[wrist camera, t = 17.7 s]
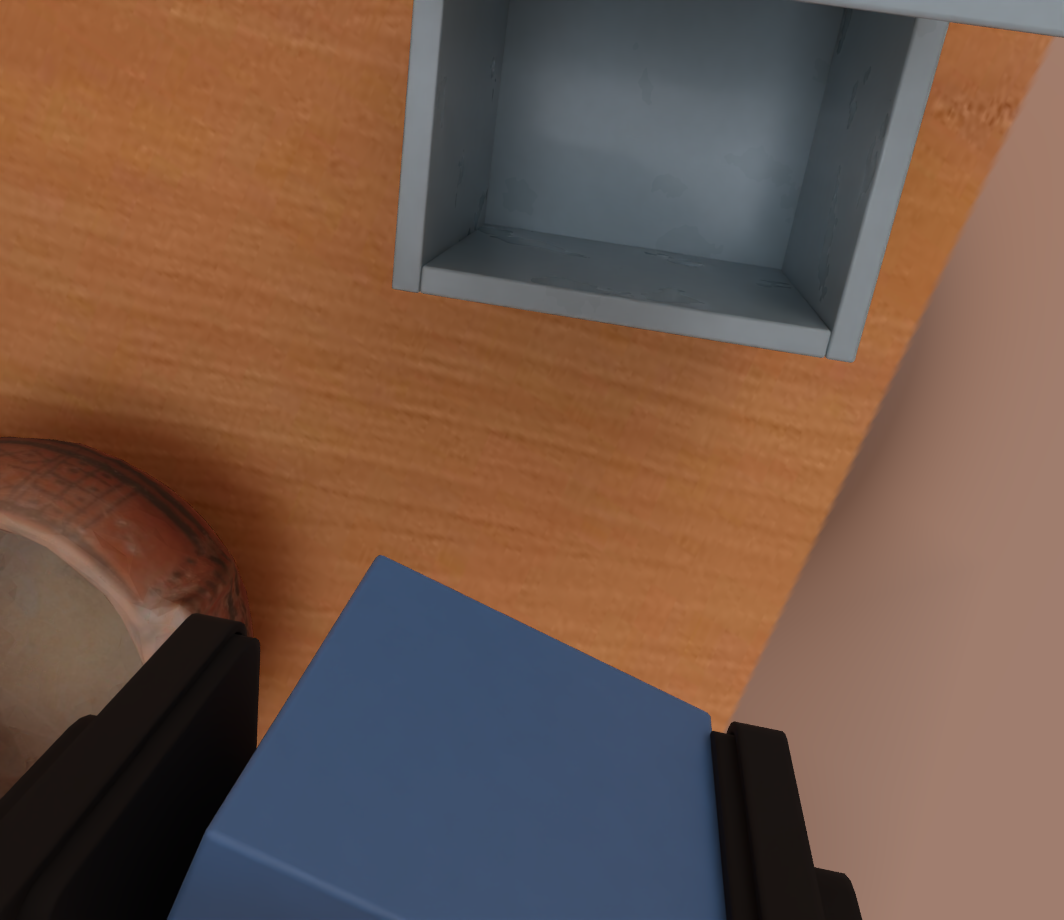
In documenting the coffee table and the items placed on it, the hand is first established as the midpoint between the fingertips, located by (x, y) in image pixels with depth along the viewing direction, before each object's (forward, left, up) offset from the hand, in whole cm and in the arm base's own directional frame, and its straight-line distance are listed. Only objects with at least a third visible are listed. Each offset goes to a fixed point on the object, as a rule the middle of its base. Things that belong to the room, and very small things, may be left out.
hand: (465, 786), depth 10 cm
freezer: (-1, +7, -24) cm, 25 cm away
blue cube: (0, 0, 0) cm, 0 cm away
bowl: (-13, -19, -24) cm, 33 cm away
